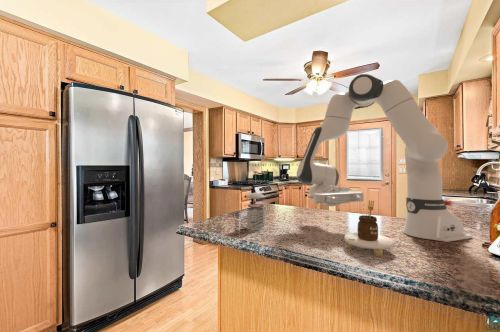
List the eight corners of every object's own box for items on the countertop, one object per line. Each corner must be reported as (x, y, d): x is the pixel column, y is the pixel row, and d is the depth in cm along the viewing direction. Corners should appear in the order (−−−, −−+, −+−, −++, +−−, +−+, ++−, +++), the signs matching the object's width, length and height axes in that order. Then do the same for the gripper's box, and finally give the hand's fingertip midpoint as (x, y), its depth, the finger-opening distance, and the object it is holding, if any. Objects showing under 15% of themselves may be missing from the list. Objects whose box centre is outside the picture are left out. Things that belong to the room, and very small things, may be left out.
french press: (241, 226, 109) (240, 170, 109) (263, 223, 114) (263, 170, 114) (250, 231, 101) (250, 171, 101) (274, 228, 105) (274, 170, 105)
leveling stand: (373, 241, 86) (373, 231, 86) (404, 256, 72) (404, 243, 72) (336, 243, 84) (336, 233, 84) (360, 259, 70) (360, 246, 70)
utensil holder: (354, 238, 78) (354, 201, 78) (362, 234, 82) (362, 199, 83) (374, 242, 74) (373, 203, 74) (381, 238, 78) (381, 201, 78)
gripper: (306, 189, 103) (321, 192, 89) (351, 187, 106) (372, 190, 92) (307, 204, 103) (321, 209, 89) (352, 201, 106) (372, 206, 92)
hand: (347, 199), depth 90 cm, fingers open, 8 cm apart
